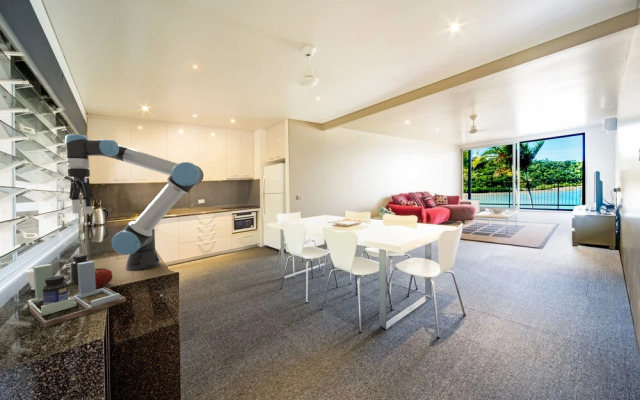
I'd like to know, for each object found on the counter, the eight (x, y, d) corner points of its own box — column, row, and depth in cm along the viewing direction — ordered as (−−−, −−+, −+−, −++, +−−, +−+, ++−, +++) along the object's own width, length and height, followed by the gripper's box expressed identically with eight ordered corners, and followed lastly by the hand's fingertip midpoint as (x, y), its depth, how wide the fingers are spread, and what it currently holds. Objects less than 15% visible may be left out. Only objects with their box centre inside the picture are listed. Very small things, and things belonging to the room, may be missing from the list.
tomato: (94, 283, 116) (93, 266, 115) (117, 281, 118) (116, 264, 117) (79, 291, 107) (78, 272, 106) (105, 289, 108) (104, 270, 108)
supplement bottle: (85, 283, 117) (83, 256, 116) (67, 284, 115) (65, 258, 114) (94, 278, 123) (93, 253, 123) (77, 279, 122) (75, 254, 121)
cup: (22, 292, 107) (21, 273, 107) (33, 284, 116) (32, 267, 115) (46, 288, 110) (44, 270, 110) (55, 281, 119) (54, 264, 119)
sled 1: (60, 293, 104) (58, 262, 104) (76, 305, 93) (74, 270, 92) (26, 302, 97) (24, 268, 96) (40, 316, 85) (37, 278, 84)
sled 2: (100, 289, 107) (98, 259, 107) (121, 301, 96) (119, 267, 95) (71, 297, 100) (69, 264, 99) (90, 310, 88) (87, 273, 88)
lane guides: (105, 290, 107) (104, 286, 107) (125, 301, 96) (125, 297, 96) (29, 311, 90) (29, 306, 90) (44, 327, 78) (43, 322, 78)
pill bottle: (63, 310, 90) (61, 279, 89) (39, 314, 87) (37, 282, 87) (72, 303, 95) (70, 273, 95) (50, 306, 93) (48, 276, 92)
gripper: (58, 169, 124) (61, 213, 125) (78, 166, 112) (82, 214, 113) (78, 170, 131) (82, 212, 132) (100, 166, 118) (103, 213, 119)
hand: (82, 213), depth 122 cm, fingers open, 13 cm apart
